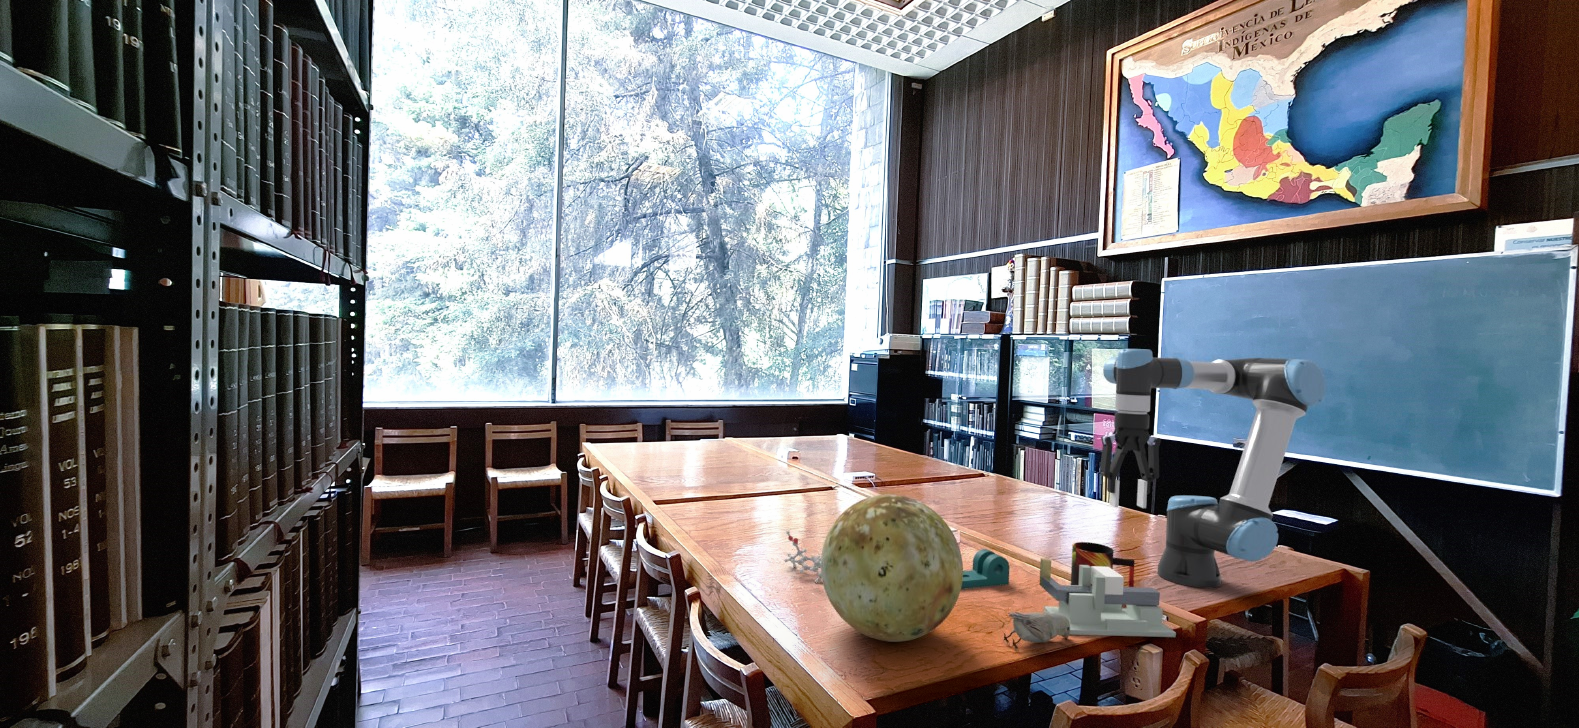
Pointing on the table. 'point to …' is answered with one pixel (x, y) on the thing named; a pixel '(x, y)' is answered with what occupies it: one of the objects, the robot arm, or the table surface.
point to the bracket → (986, 571)
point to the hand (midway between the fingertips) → (1127, 506)
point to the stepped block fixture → (1108, 613)
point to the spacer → (1109, 579)
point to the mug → (1096, 559)
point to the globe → (891, 568)
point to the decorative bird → (1038, 626)
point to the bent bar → (1062, 591)
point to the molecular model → (804, 558)
